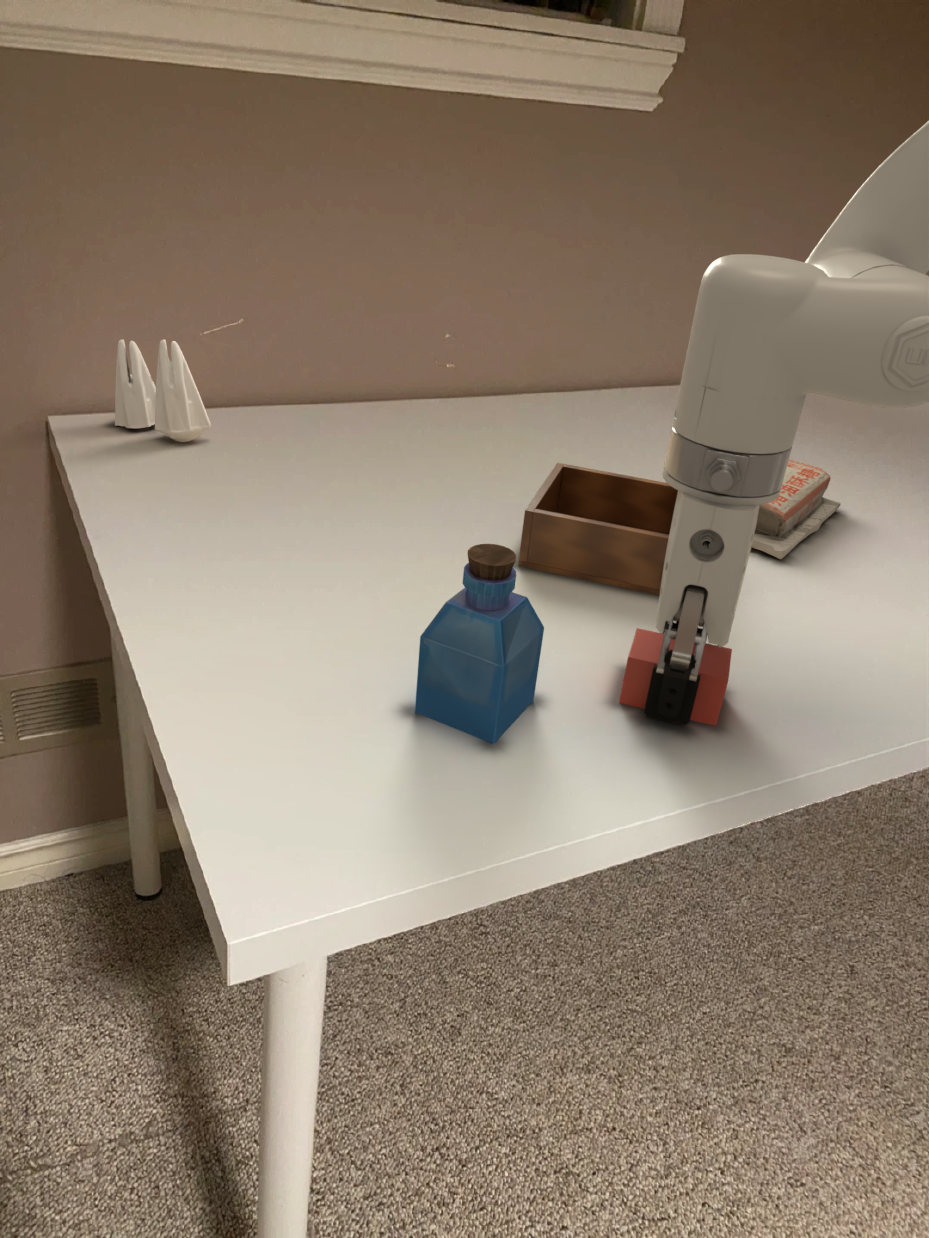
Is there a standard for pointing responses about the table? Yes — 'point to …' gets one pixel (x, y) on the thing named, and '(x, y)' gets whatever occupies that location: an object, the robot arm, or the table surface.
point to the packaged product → (794, 510)
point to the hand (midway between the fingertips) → (671, 692)
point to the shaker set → (158, 394)
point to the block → (711, 672)
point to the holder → (599, 527)
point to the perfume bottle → (481, 650)
